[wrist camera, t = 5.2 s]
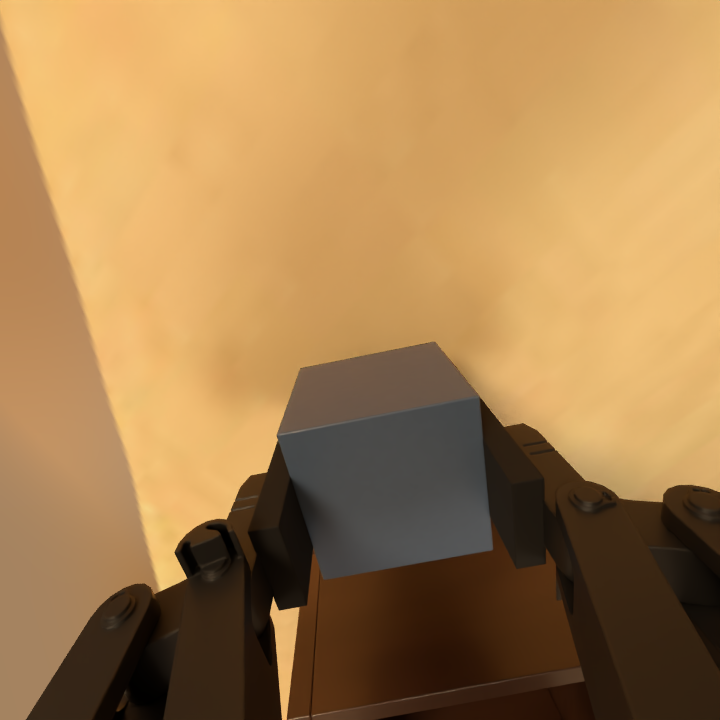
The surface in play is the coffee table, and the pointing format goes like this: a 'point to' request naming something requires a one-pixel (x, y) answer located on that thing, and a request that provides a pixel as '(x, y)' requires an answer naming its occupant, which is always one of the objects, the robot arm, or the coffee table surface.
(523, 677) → the chest
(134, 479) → the coffee table surface
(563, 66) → the coffee table surface
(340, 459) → the block
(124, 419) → the coffee table surface
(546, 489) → the robot arm
